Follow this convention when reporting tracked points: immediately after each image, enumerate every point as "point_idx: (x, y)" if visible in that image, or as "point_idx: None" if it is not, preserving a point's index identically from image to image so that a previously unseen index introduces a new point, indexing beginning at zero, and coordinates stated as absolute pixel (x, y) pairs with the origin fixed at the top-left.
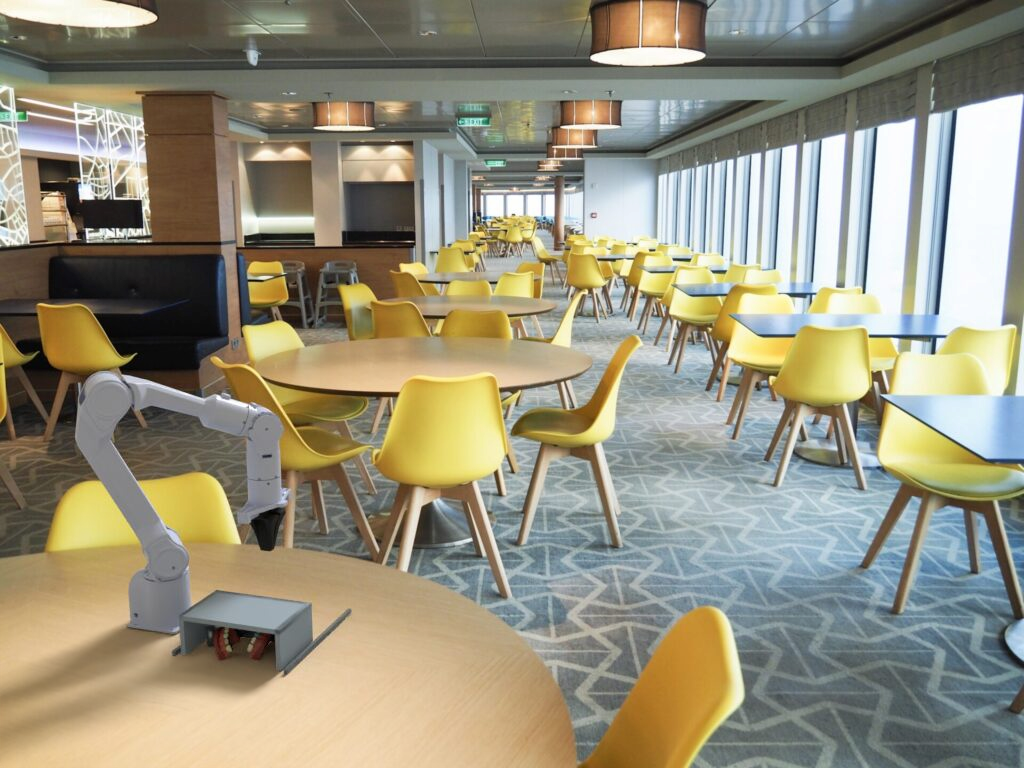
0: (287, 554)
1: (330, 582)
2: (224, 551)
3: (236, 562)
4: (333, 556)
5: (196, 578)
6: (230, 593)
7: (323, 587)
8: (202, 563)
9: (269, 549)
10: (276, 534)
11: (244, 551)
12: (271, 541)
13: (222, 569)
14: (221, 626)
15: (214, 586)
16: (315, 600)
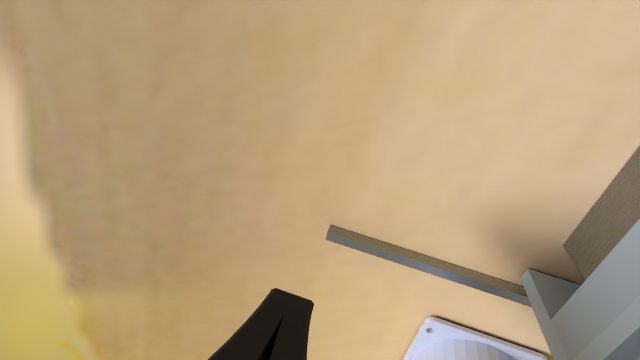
0: (61, 191)
1: (172, 14)
2: (107, 309)
3: (144, 284)
4: (9, 63)
5: None
6: (633, 354)
7: (215, 29)
8: (170, 335)
9: (310, 314)
10: (232, 357)
11: (91, 277)
12: (303, 354)
13: (184, 303)
14: (533, 273)
15: None
16: (321, 28)
